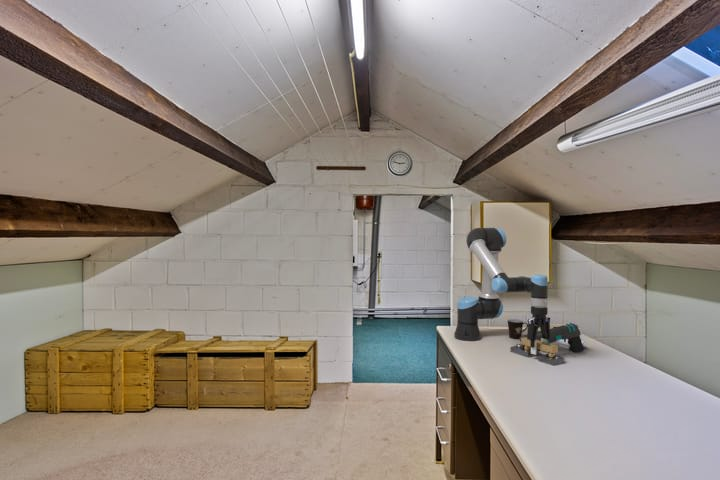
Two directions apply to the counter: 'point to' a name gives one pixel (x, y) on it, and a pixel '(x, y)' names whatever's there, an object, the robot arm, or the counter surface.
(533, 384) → the counter surface
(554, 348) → the gold bar
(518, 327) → the coffee mug
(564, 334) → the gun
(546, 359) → the chain end
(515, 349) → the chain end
